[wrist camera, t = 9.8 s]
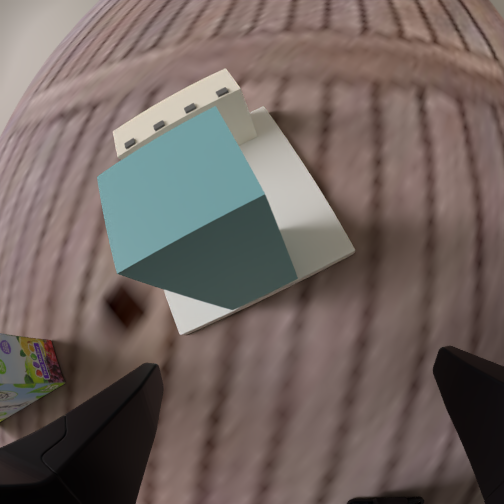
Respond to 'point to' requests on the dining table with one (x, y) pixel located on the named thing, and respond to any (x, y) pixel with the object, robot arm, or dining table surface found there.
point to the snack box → (26, 372)
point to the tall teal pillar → (194, 217)
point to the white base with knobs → (267, 173)
